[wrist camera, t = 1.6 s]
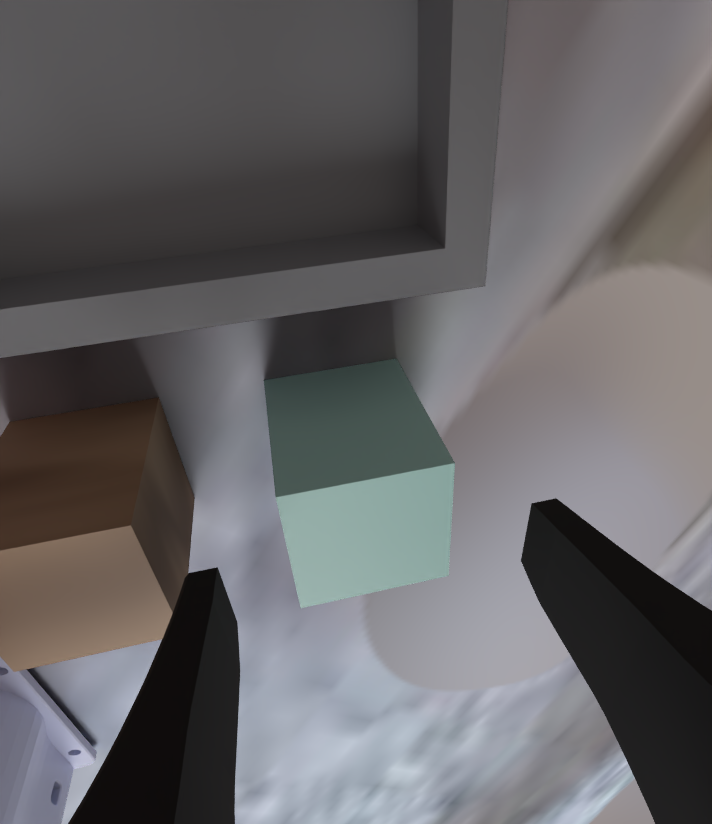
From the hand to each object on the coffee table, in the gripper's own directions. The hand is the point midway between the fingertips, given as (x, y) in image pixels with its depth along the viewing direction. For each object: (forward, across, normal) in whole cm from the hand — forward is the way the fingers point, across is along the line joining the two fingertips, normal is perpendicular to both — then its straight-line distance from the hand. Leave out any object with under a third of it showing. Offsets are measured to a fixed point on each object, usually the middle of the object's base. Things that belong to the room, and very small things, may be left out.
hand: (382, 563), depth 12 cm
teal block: (+6, 0, 0) cm, 6 cm away
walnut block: (+6, +7, 0) cm, 9 cm away
